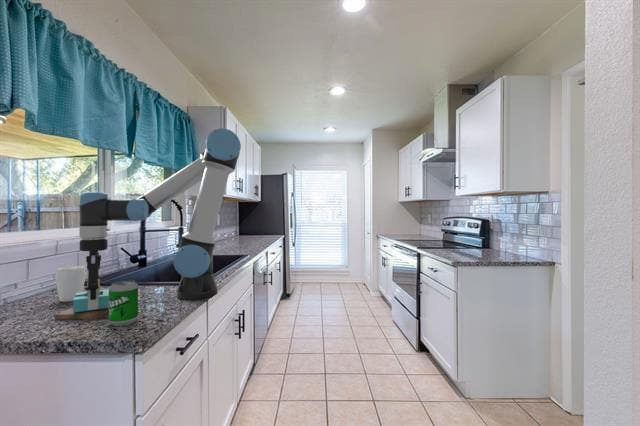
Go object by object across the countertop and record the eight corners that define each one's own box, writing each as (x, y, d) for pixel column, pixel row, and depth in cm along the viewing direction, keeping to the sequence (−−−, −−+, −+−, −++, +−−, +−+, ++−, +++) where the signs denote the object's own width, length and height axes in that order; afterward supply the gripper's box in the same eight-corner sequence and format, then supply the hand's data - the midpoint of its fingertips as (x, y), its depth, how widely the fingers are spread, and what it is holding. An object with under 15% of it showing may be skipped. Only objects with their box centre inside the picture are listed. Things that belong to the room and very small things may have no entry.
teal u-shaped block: (111, 299, 110) (111, 288, 110) (112, 307, 102) (112, 295, 102) (76, 304, 104) (76, 292, 104) (73, 312, 96) (73, 299, 96)
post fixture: (126, 304, 110) (126, 275, 110) (102, 318, 96) (102, 285, 96) (85, 305, 109) (85, 276, 109) (54, 319, 95) (55, 285, 95)
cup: (54, 298, 118) (55, 267, 118) (84, 294, 124) (84, 264, 124) (55, 304, 111) (55, 271, 111) (86, 299, 117) (86, 268, 117)
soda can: (126, 317, 98) (126, 279, 98) (143, 320, 95) (143, 281, 95) (102, 325, 91) (102, 284, 91) (120, 328, 88) (120, 286, 88)
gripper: (107, 240, 96) (107, 312, 96) (107, 235, 114) (107, 295, 114) (77, 241, 91) (76, 316, 91) (81, 236, 110) (81, 298, 110)
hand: (93, 305), depth 103 cm, fingers closed on teal u-shaped block, 10 cm apart
